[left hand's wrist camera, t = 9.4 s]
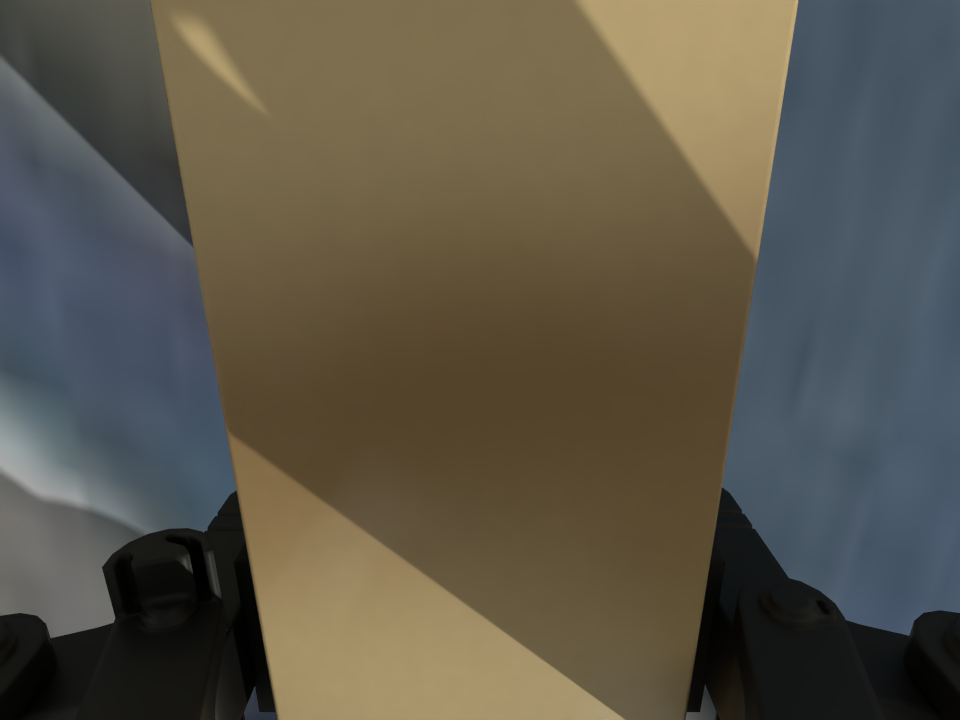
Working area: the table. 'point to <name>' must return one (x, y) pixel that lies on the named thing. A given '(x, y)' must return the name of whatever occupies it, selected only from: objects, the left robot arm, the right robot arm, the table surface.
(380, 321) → the oak plank
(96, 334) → the table surface
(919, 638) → the left robot arm
